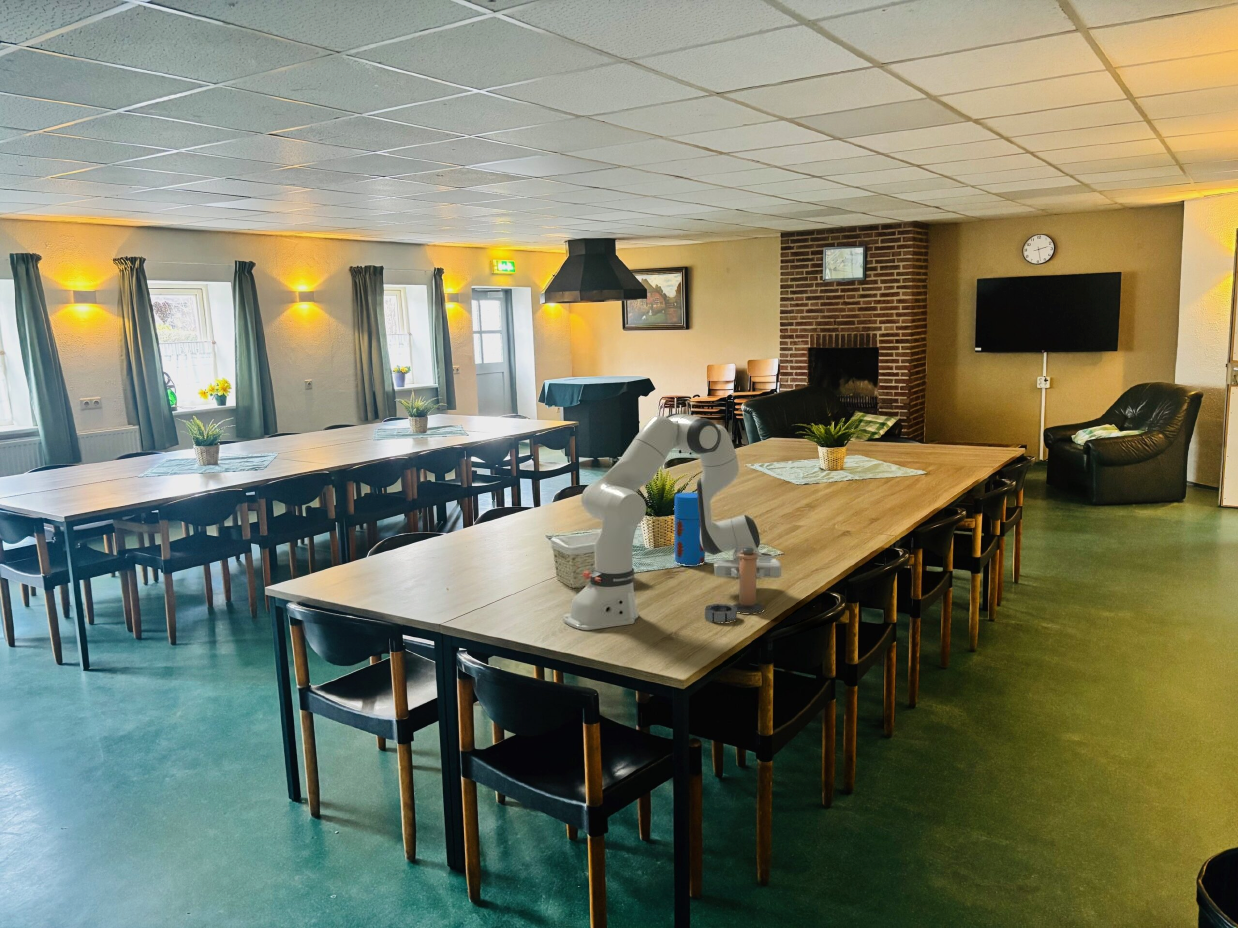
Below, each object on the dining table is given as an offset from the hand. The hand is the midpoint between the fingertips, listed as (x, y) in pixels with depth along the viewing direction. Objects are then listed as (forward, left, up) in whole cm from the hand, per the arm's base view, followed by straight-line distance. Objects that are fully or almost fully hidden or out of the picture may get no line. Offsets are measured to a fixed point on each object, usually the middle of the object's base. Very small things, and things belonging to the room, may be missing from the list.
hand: (748, 575), depth 261 cm
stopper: (+1, +1, -8) cm, 9 cm away
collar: (-11, -1, -11) cm, 16 cm away
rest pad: (+1, +1, -11) cm, 11 cm away
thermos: (+20, +54, -11) cm, 58 cm away
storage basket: (-20, +56, -11) cm, 61 cm away
